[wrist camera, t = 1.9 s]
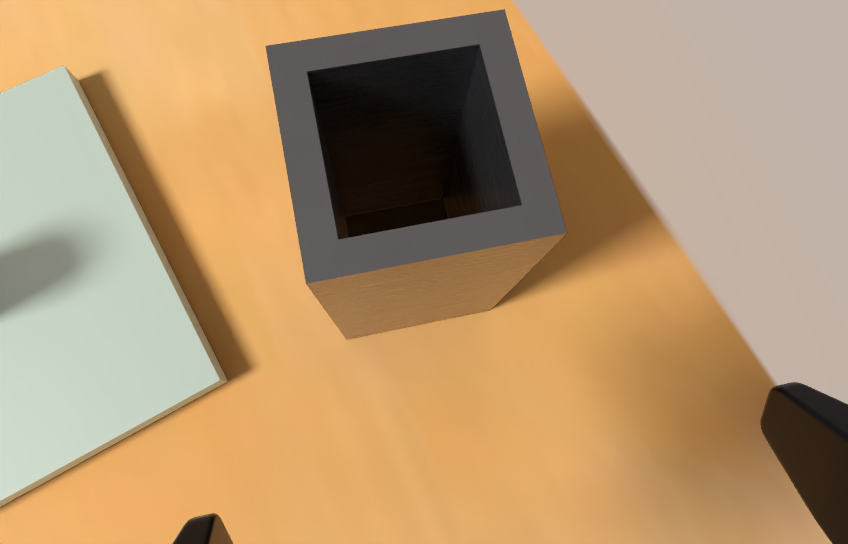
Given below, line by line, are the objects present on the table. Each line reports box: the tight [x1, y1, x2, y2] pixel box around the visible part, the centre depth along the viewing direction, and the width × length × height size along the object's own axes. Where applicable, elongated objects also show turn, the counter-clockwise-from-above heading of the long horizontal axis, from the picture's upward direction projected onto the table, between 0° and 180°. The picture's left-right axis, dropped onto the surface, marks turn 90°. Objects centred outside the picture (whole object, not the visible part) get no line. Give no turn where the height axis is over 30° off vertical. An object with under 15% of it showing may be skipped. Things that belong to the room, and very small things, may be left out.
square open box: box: [266, 9, 567, 339], centre depth 17 cm, size 6×6×10 cm
